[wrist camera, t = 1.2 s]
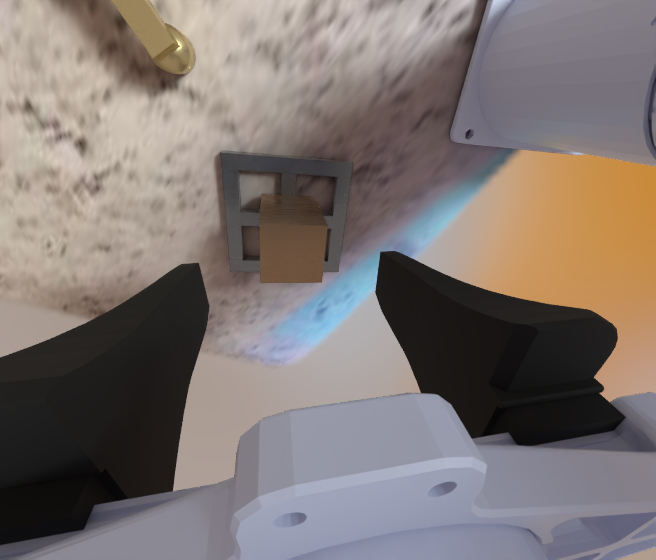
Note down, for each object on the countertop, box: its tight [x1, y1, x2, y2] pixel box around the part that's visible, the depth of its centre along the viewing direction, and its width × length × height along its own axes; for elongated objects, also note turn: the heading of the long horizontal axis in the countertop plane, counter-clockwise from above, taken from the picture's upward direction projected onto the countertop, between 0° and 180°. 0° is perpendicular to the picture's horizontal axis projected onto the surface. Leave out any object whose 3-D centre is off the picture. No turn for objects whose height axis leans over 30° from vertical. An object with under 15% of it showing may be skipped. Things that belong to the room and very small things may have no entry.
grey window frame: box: [221, 151, 353, 283], centre depth 16 cm, size 7×7×5 cm
